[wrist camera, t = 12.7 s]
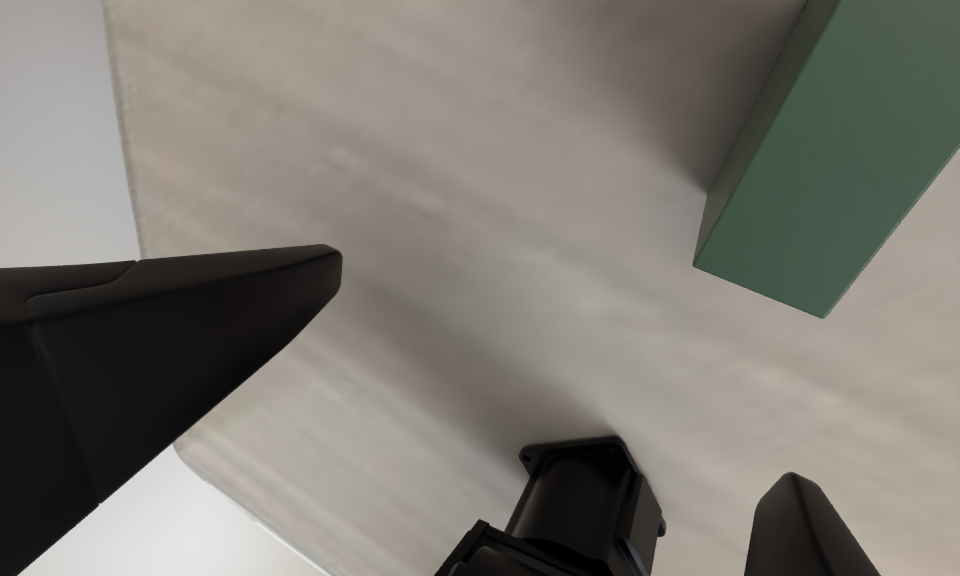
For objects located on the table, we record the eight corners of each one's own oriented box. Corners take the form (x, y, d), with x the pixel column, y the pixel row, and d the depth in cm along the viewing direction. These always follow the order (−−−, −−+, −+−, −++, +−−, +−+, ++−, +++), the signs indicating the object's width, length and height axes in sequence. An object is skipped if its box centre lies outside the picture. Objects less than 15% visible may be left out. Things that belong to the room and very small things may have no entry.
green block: (799, 229, 18) (824, 321, 12) (706, 196, 19) (690, 267, 13) (940, 16, 14) (1072, 7, 8) (815, -14, 15) (859, -40, 9)
